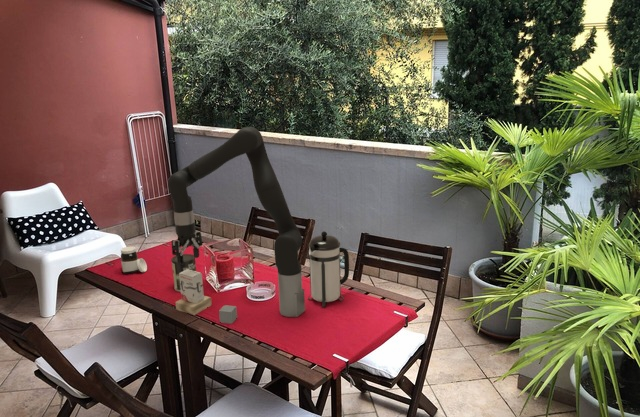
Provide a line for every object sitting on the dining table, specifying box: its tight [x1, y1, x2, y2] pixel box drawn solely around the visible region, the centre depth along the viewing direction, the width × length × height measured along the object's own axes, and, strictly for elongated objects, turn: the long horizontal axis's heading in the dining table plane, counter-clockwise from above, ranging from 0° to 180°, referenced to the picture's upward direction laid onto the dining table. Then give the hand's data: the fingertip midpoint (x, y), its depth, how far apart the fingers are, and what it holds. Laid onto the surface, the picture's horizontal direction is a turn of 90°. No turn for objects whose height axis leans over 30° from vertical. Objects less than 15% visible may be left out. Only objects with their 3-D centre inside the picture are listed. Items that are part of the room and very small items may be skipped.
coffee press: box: [307, 231, 350, 308], centre depth 210 cm, size 17×16×30 cm
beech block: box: [175, 295, 212, 316], centre depth 209 cm, size 10×10×4 cm
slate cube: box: [218, 304, 238, 325], centre depth 197 cm, size 5×5×5 cm
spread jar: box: [120, 246, 148, 275], centre depth 249 cm, size 12×11×12 cm
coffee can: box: [170, 253, 197, 293], centre depth 228 cm, size 10×10×14 cm
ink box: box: [179, 269, 205, 304], centre depth 207 cm, size 9×5×12 cm, turn 58°
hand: (189, 260), depth 204 cm, fingers open, 8 cm apart
